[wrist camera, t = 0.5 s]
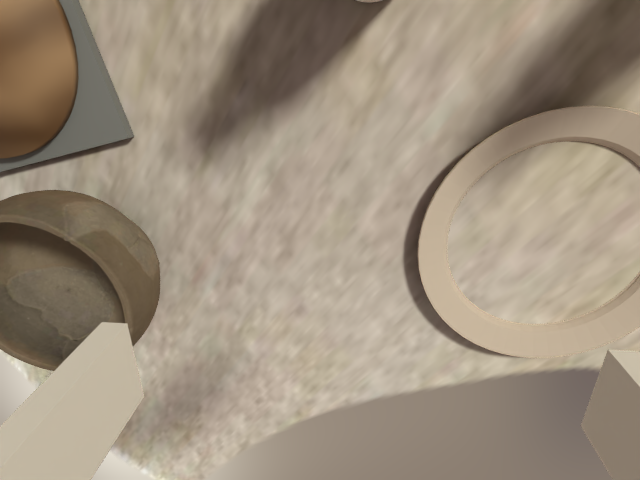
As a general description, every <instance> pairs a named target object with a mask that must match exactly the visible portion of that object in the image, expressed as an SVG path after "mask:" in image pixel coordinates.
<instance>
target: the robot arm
mask: <svg viewBox="0 0 640 480" xmlns="http://www.w3.org/2000/svg"><path fill="white" fill-rule="evenodd" d="M143 397H144V393H143V388H142V384H141V380H140V376H139V371H138V367H137V363H136V359H135V354H134V350H133V346H132V342H131V337H130V333H129V329H128V324H127V323H109V322H102V323H101V324H100V325H99V326H98V327H97V328H96V329H95V330H94V331H93V332H92V333H91V334H90V335H89V336H88V337H87V338H86V339H85V340H84V341H83V342H82V343H81V344H80V345H79V346H78V347H77V348H76V349H75V350H74V351H73V352H72V353H71V354H70V355H69V356H68V357H67V358H66V359H65V360H64V361H63V363H62V364H61V365H60V366H59V367H58V368H57V369H56V370H55V371H54V372H53V373H52V374H51V375H50V376H49V377H48V378H47V379H46V380H45V381H44V382H43V383H42V384H41V385H40V386H39V387H38V388H37V389H36V390H35V391H34V392H33V393H32V394H31V395H30V396H29V397H28V398H27V400H25V402H24V403H23V404H22V405H21V406H20V407H19V408H18V409H17V410H16V411H15V412H14V413H13V414H12V415H11V416H10V417H9V418H8V419H7V420H6V421H5V422H4V423H3V424H2V425H1V426H0V480H91V479H92V477H93V476H94V474H95V472H96V471H97V469H98V468H99V466H100V465H101V463H102V462H103V460H104V458H105V457H106V455H107V454H108V452H109V451H110V449H111V447H112V446H113V444H114V443H115V441H116V440H117V438H118V436H119V435H120V433H121V432H122V430H123V429H124V427H125V425H126V424H127V422H128V421H129V419H130V418H131V416H132V414H133V413H134V411H135V410H136V408H137V407H138V405H139V403H140V402H141V400H142V399H143ZM581 428H582V429H583V431H584V433H585V434H586V436H587V438H588V439H589V441H590V443H591V444H592V446H593V447H594V449H595V451H596V452H597V454H598V456H599V458H600V459H601V461H602V463H603V464H604V466H605V468H606V469H607V471H608V473H609V474H610V476H611V478H612V479H613V480H640V352H639V351H626V350H608V351H607V354H606V357H605V359H604V362H603V365H602V368H601V371H600V374H599V376H598V379H597V382H596V385H595V388H594V390H593V393H592V396H591V399H590V402H589V404H588V407H587V410H586V413H585V415H584V418H583V421H582V424H581Z"/></svg>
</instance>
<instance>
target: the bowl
mask: <svg viewBox="0 0 640 480" xmlns="http://www.w3.org/2000/svg"><path fill="white" fill-rule="evenodd" d="M159 295H160V269H159V260H158V258H157V255H156V251H155V249H154V247H153V245H152V243H151V241H150V240H149V238H148V237H147V235H146V234H145V233H144V232H143V231H142V230H141V229H140V227H138V226H137V225H136V224H135V223H134V222H132V221H130V220H129V219H128V218H127V217H126V216H124V215H123V214H122V213H121V212H119V211H118V210H116V209H115V208H113V207H112V206H110V205H108V204H106V203H104V202H103V201H101V200H98V199H96V198H94V197H91V196H88V195H85V194H81V193H76V192H71V191H61V190H45V191H35V192H29V193H23V194H19V195H15V196H12V197H9V198H7V199H4V200H2V201H0V349H1V350H3V351H4V352H6V353H8V354H9V355H11V356H13V357H15V358H17V359H19V360H21V361H24V362H26V363H29V364H31V365H34V366H37V367H40V368H43V369H47V370H52V371H55V370H56V369H57V368H58V367H59V366H60V365H61V364H62V363H63V361H64V360H65V359H66V358H67V357H68V356H69V355H70V354H71V353H72V352H73V351H74V350H75V349H76V348H77V347H78V346H79V345H80V344H81V343H82V342H83V341H84V340H85V339H86V338H87V337H88V336H89V335H90V334H91V333H92V332H93V331H94V330H95V329H96V328H97V327H98V326H99V325H100V324H101V323H102V322H109V323H127V324H128V329H129V333H130V337H131V342H132V346H134V345H135V343H136V342H137V341H138V340H139V339H140V338H141V336H142V335H143V334H144V332H145V331H146V329H147V328H148V326H149V324H150V322H151V320H152V318H153V316H154V314H155V311H156V308H157V305H158V301H159Z"/></svg>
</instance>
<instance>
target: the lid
mask: <svg viewBox="0 0 640 480" xmlns="http://www.w3.org/2000/svg"><path fill="white" fill-rule="evenodd" d="M78 79H79V77H78V59H77V52H76V45H75V42H74V38H73V34H72V30H71V27H70V24H69V22H68V19H67V16H66V14H65V11H64V9H63V7H62V5H61V3H60V1H59V0H0V158H11V157H16V156H20V155H24V154H27V153H30V152H33V151H36V150H38V149H40V148H41V147H43V146H45V145H47V144H48V143H49V142H50V141H51V140H53V139H54V138H55V137H56V136H57V135H58V134H59V132H60V131H61V130H62V129H63V127H64V126H65V124H66V122H67V121H68V119H69V117H70V115H71V112H72V110H73V107H74V104H75V100H76V95H77V89H78Z"/></svg>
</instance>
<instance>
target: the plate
mask: <svg viewBox="0 0 640 480" xmlns="http://www.w3.org/2000/svg"><path fill="white" fill-rule="evenodd" d="M561 141H583V142H589V143H595V144H599V145H602V146H606V147H609V148H611V149H613V150H615V151H618V152H620V153H622V154H623V155H625V156H626V157H628V158H629V159H630V160H632V161H633V162H634V163H635V164H636V165H637V166H638V167H639V168H640V114H638V113H635V112H632V111H629V110H624V109H619V108H613V107H607V106H576V107H565V108H560V109H555V110H550V111H546V112H542V113H539V114H536V115H533V116H530V117H527V118H524V119H522V120H520V121H518V122H515V123H513V124H511V125H509V126H506V127H505V128H503V129H501V130H500V131H498V132H496V133H494V134H493V135H491V136H489V137H488V138H486V139H485V140H484V141H482V142H481V143H480V144H478V145H477V146H476V147H474V148H473V149H472V150H471V151H470V152H468V153H467V154H466V155H465V156H464V157H463V158H462V159H461V160H460V161H459V162H458V163H457V164H456V165H455V166H454V167H453V169H452V170H451V171H450V172H449V173H448V175H447V176H446V177H445V178H444V180H443V181H442V183H441V184H440V186H439V187H438V189H437V190H436V192H435V194H434V195H433V197H432V199H431V201H430V203H429V205H428V207H427V210H426V213H425V216H424V219H423V221H422V225H421V229H420V234H419V239H418V252H417V256H418V269H419V274H420V278H421V283H422V285H423V288H424V291H425V293H426V296H427V298H428V299H429V301H430V303H431V305H432V306H433V308H434V309H435V311H436V312H437V313H438V315H439V316H440V317H441V318H442V319H443V320H444V321H445V322H446V323H447V324H448V325H449V326H450V327H451V328H452V329H453V330H454V331H456V332H457V333H458V334H460V335H461V336H462V337H464V338H466V339H467V340H469V341H471V342H473V343H474V344H476V345H479V346H481V347H483V348H486V349H488V350H491V351H495V352H498V353H501V354H506V355H511V356H516V357H527V358H551V357H561V356H568V355H573V354H577V353H582V352H585V351H589V350H592V349H595V348H599V347H601V346H604V345H606V344H609V343H611V342H614V341H616V340H618V339H619V338H621V337H623V336H625V335H627V334H629V333H631V332H632V331H634V330H636V329H637V328H639V327H640V272H639V273H638V274H637V276H636V277H635V278H634V279H633V281H632V282H631V283H630V284H629V285H628V286H627V287H626V288H625V289H624V290H622V291H621V292H620V293H619V294H618V295H616V296H615V297H614V298H612V299H611V300H609V301H608V302H606V303H605V304H603V305H602V306H600V307H598V308H596V309H594V310H592V311H590V312H588V313H586V314H583V315H581V316H578V317H575V318H572V319H569V320H565V321H560V322H555V323H547V324H522V323H516V322H510V321H506V320H503V319H500V318H497V317H495V316H492V315H490V314H488V313H486V312H484V311H483V310H481V309H479V308H478V307H477V306H475V305H474V304H473V303H472V302H470V301H469V300H468V299H467V297H466V296H465V295H464V294H463V293H462V292H461V290H460V289H459V287H458V286H457V284H456V282H455V280H454V278H453V276H452V273H451V271H450V268H449V263H448V257H447V241H448V233H449V229H450V225H451V222H452V219H453V217H454V214H455V212H456V210H457V208H458V206H459V204H460V202H461V201H462V199H463V198H464V196H465V195H466V193H467V192H468V191H469V189H470V188H471V187H472V186H473V185H474V184H475V183H476V182H477V180H478V179H480V178H481V177H482V176H483V175H484V174H485V173H486V172H487V171H489V170H490V169H491V168H493V167H494V166H495V165H497V164H498V163H500V162H501V161H503V160H505V159H507V158H508V157H510V156H512V155H514V154H516V153H519V152H521V151H523V150H525V149H528V148H532V147H535V146H538V145H542V144H547V143H552V142H561Z"/></svg>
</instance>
